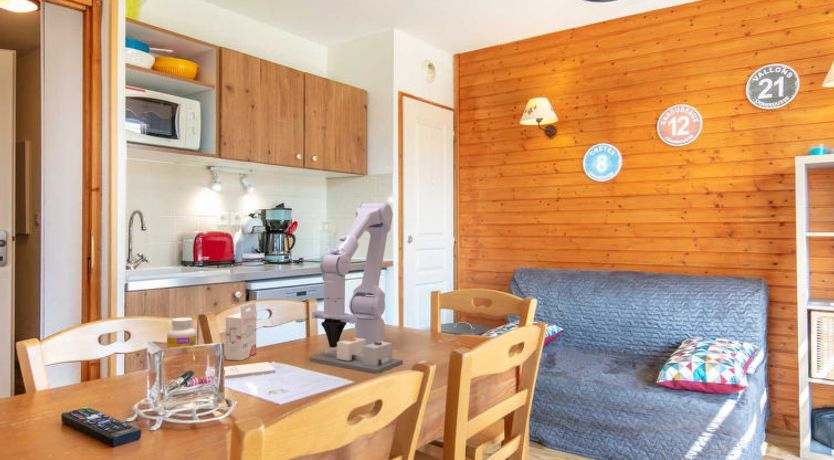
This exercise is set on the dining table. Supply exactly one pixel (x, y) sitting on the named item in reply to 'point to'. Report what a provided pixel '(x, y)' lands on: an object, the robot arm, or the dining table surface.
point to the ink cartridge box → (241, 333)
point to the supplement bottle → (181, 333)
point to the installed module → (376, 352)
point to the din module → (350, 348)
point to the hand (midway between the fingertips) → (333, 346)
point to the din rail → (355, 356)
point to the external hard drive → (248, 370)
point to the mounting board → (355, 363)
